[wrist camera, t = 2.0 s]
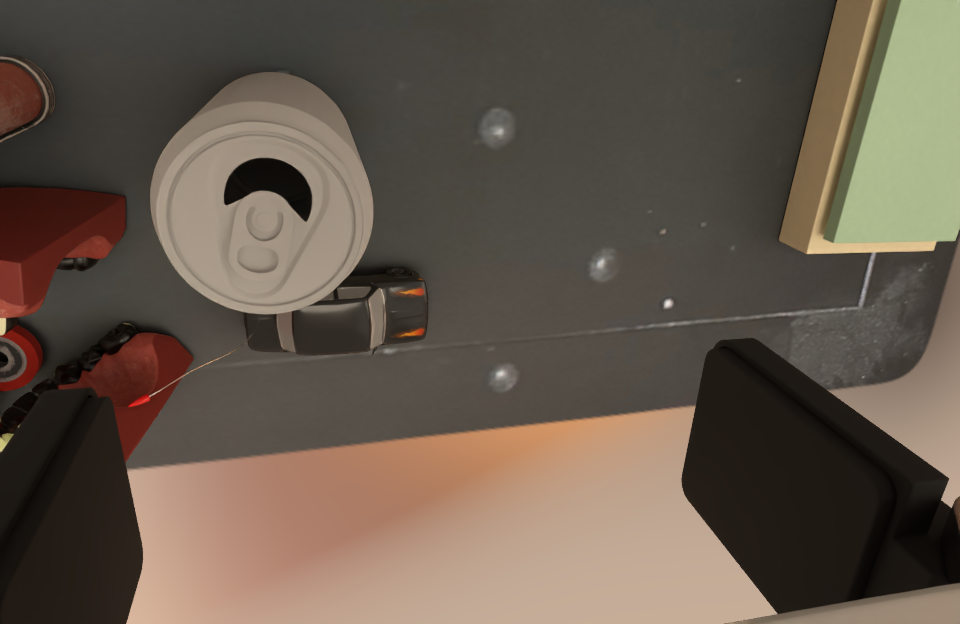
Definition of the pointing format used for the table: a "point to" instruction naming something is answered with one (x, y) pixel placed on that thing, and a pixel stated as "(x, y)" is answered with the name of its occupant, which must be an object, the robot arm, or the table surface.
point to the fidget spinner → (19, 358)
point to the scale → (835, 132)
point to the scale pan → (905, 133)
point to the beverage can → (263, 196)
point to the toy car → (344, 319)
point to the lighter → (23, 96)
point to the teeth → (78, 245)
